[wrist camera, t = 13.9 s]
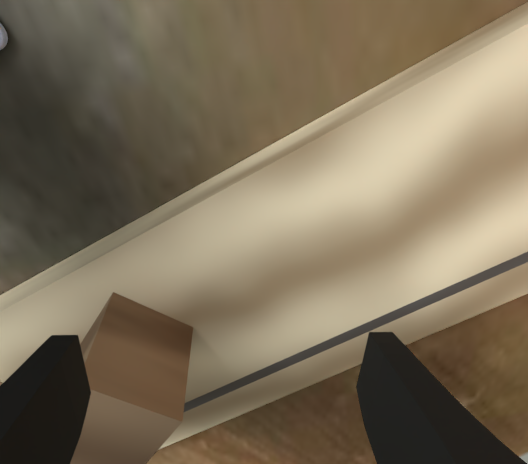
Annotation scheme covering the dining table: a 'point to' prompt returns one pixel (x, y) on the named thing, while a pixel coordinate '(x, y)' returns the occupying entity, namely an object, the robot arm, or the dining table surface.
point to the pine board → (322, 236)
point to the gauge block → (132, 383)
